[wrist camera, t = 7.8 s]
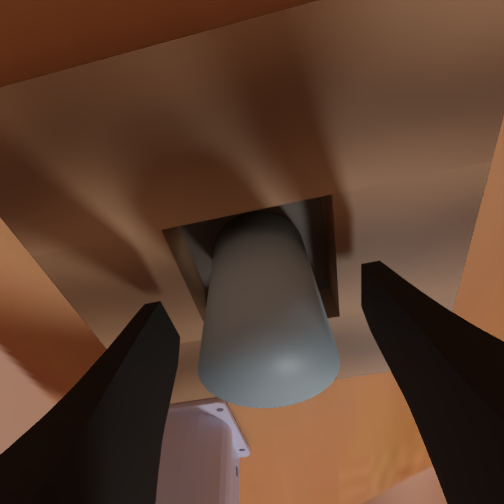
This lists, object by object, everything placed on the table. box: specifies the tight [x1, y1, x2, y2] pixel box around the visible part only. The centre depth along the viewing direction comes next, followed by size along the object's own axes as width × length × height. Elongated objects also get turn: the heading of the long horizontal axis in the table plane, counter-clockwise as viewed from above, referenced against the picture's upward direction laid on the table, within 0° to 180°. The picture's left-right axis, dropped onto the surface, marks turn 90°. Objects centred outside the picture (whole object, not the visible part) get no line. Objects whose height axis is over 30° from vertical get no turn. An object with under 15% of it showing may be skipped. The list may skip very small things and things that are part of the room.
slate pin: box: [198, 211, 340, 408], centre depth 11 cm, size 4×4×6 cm
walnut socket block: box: [0, 0, 504, 404], centre depth 13 cm, size 16×16×2 cm
